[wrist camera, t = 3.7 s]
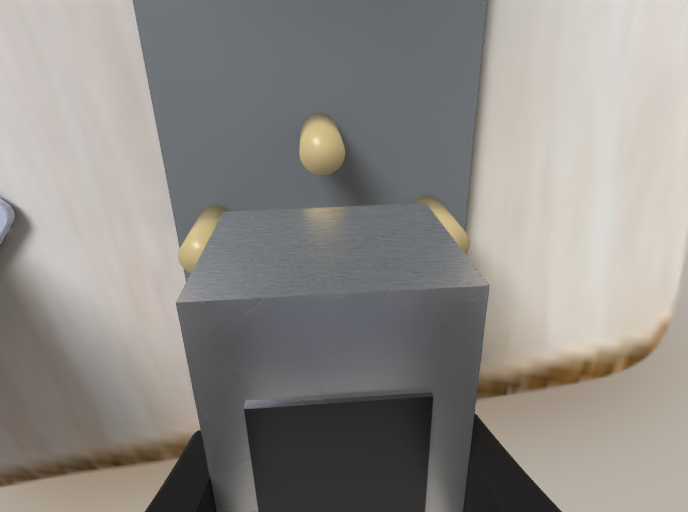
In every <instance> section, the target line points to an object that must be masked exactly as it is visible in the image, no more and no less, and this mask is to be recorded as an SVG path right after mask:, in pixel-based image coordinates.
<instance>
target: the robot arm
mask: <svg viewBox="0 0 688 512" xmlns="http://www.w3.org/2000/svg"><path fill="white" fill-rule="evenodd" d="M14 218H15V214H14V210H13V209H12V207H11V206H10V205H9V204H8V203H7V202H5V201H4V200H2V199H0V245H1V243H2V241H3V239H4V238H5V236H6V234H7V232H8V230H9V229H10V227H11V225H12V223H13V221H14ZM145 512H217V510H216V505H215V500H214V495H213V490H212V485H211V479H210V474H209V469H208V464H207V459H206V454H205V449H204V444H203V439H202V434H201V431H197V432H196V433H195V434H194V435H193V436H192V438H191V439H190V441H189V443H188V445H187V446H186V448H185V450H184V451H183V453H182V455H181V456H180V458H179V460H178V461H177V463H176V465H175V466H174V468H173V469H172V471H171V473H170V474H169V476H168V477H167V479H166V480H165V482H164V484H163V485H162V487H161V488H160V490H159V492H158V493H157V495H156V496H155V497H154V499H153V500H152V502H151V503H150V505H149V506H148V508H147V509H146V511H145ZM463 512H561V511H560V509H559V508H558V507H557V506H556V505H555V504H554V503H553V502H552V501H551V500H550V499H549V498H548V497H547V496H546V494H545V493H544V492H543V491H542V490H541V489H540V488H539V487H538V486H537V485H536V484H535V483H534V481H533V480H532V479H531V478H530V477H529V476H528V475H527V474H526V473H525V472H524V470H523V469H522V468H521V467H520V466H519V465H518V464H517V462H516V461H515V460H514V459H513V458H512V457H511V455H510V454H509V453H508V452H507V451H506V450H505V448H504V447H503V446H502V445H501V444H500V443H499V441H498V440H497V439H496V438H495V437H494V435H493V434H492V433H491V432H490V431H489V429H488V428H487V427H486V426H485V424H484V423H483V422H482V421H481V420H480V418H479V417H478V416H477V415H476V414H475V413H474V421H473V430H472V438H471V447H470V455H469V464H468V472H467V481H466V489H465V498H464V506H463Z"/></svg>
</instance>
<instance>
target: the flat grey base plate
mask: <svg viewBox="0 0 688 512" xmlns="http://www.w3.org/2000/svg"><path fill="white" fill-rule="evenodd" d="M133 4H134V10H135V15H136V20H137V25H138V31H139V36H140V41H141V46H142V52H143V57H144V62H145V67H146V73H147V78H148V83H149V89H150V94H151V99H152V104H153V110H154V115H155V120H156V125H157V131H158V136H159V141H160V146H161V152H162V157H163V162H164V167H165V173H166V178H167V183H168V188H169V194H170V199H171V204H172V209H173V215H174V220H175V225H176V231H177V236H178V241H179V246H180V249H179V253H178V258H179V262H180V264H181V266H182V267H183V268H184V273H185V278H186V282H187V280H188V278H189V277H190V275H191V273H192V271H193V269H194V267H195V265H196V263H197V261H198V259H199V257H200V256H201V254H202V252H203V250H204V248H205V246H206V244H207V242H208V240H209V238H210V236H211V235H212V233H213V231H214V229H215V227H216V225H217V223H218V221H219V219H220V217H221V215H222V213H223V212H234V211H257V210H279V209H302V208H325V207H347V206H370V205H393V204H415V203H426V204H427V205H428V206H429V207H430V209H431V210H432V211H433V213H434V214H435V215H436V217H437V218H438V219H439V220H440V222H441V223H442V224H443V226H444V227H445V228H446V230H447V231H448V232H449V234H450V235H451V236H452V237H453V239H454V240H455V241H456V243H457V244H458V245H459V247H460V248H461V249H462V250H463V252H464V253H465V254H466V252H467V250H468V248H469V237H468V235H467V233H466V232H465V223H466V212H467V202H468V192H469V181H470V171H471V161H472V150H473V140H474V130H475V119H476V109H477V99H478V88H479V78H480V68H481V57H482V47H483V36H484V26H485V16H486V5H487V0H133Z"/></svg>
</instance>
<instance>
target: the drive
mask: <svg viewBox="0 0 688 512" xmlns="http://www.w3.org/2000/svg"><path fill="white" fill-rule="evenodd" d="M488 293H489V284H488V283H487V282H486V280H485V279H484V278H483V277H482V275H481V274H480V273H479V271H478V270H477V269H476V267H475V266H474V265H473V264H472V262H471V261H470V260H469V258H468V257H467V256H466V254H465V253H464V252H463V250H462V249H461V248H460V247H459V245H458V244H457V243H456V241H455V240H454V239H453V237H452V236H451V235H450V234H449V232H448V231H447V230H446V228H445V227H444V226H443V224H442V223H441V222H440V220H439V219H438V218H437V217H436V215H435V214H434V213H433V211H432V210H431V209H430V207H429V206H428V205H427V204H426V203H415V204H393V205H370V206H347V207H325V208H302V209H279V210H257V211H234V212H223V213H222V215H221V217H220V219H219V221H218V223H217V225H216V227H215V229H214V231H213V233H212V235H211V236H210V238H209V240H208V242H207V244H206V246H205V248H204V250H203V252H202V254H201V256H200V257H199V259H198V261H197V263H196V265H195V267H194V269H193V271H192V273H191V275H190V277H189V278H188V280H187V282H186V284H185V286H184V288H183V290H182V292H181V294H180V296H179V298H178V299H177V301H176V306H177V311H178V316H179V321H180V326H181V331H182V336H183V342H184V347H185V352H186V357H187V362H188V367H189V372H190V377H191V382H192V388H193V393H194V398H195V403H196V408H197V413H198V418H199V423H200V428H201V434H202V439H203V444H204V449H205V454H206V459H207V464H208V469H209V474H210V479H211V485H212V490H213V495H214V500H215V505H216V510H217V512H463V506H464V498H465V489H466V481H467V472H468V464H469V455H470V447H471V438H472V430H473V421H474V412H475V404H476V395H477V387H478V378H479V370H480V361H481V353H482V344H483V336H484V327H485V319H486V310H487V302H488Z"/></svg>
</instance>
